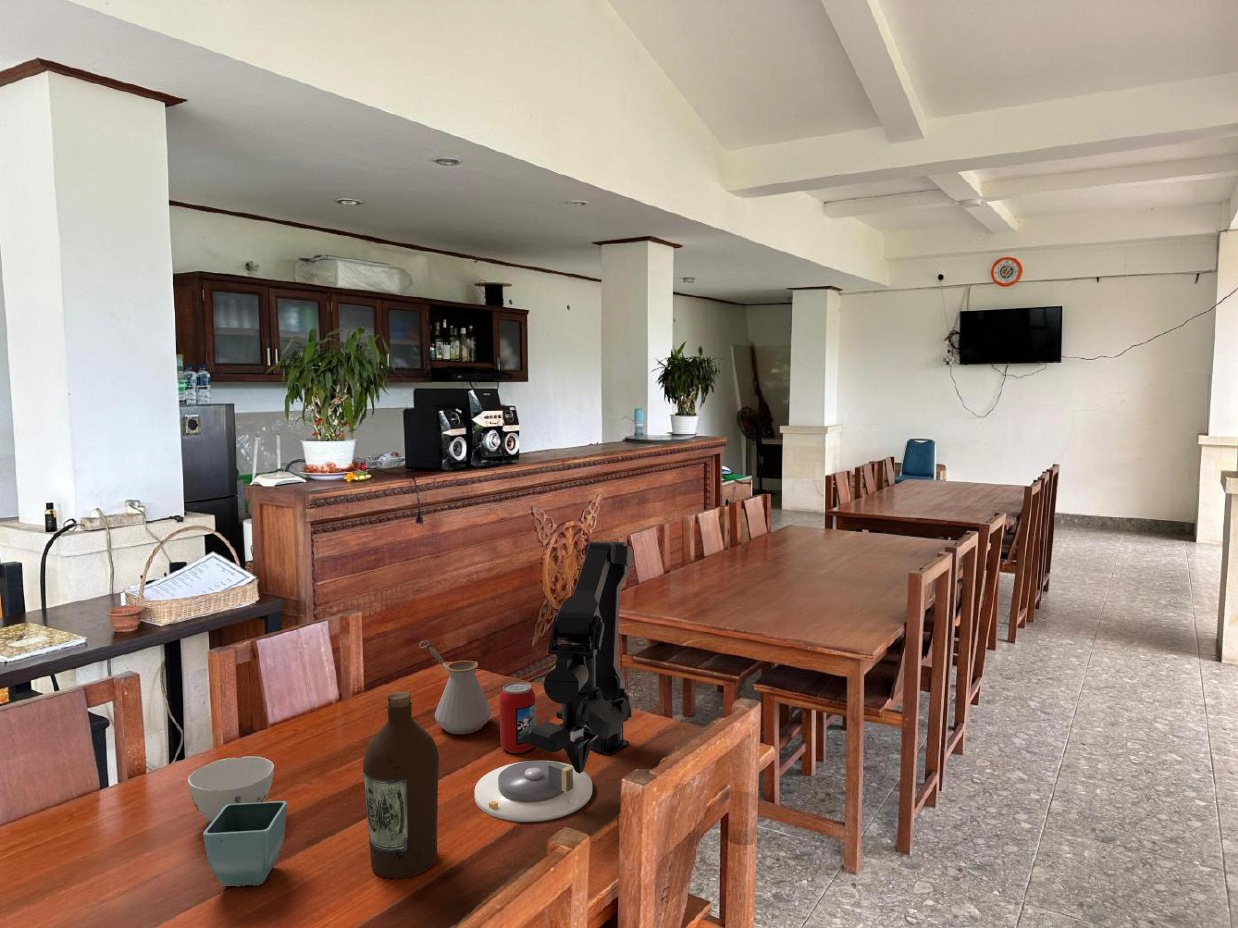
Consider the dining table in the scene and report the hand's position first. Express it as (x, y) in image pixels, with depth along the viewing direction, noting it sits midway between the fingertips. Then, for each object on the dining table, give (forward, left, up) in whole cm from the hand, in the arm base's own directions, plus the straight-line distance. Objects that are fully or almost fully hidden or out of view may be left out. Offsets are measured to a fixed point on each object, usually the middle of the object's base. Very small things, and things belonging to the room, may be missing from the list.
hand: (579, 772), depth 143 cm
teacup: (+40, -40, -4) cm, 57 cm away
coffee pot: (-8, -43, -4) cm, 44 cm away
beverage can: (-7, -22, -4) cm, 24 cm away
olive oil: (+31, -7, -4) cm, 32 cm away
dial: (+4, -6, -3) cm, 8 cm away
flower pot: (+47, -21, -4) cm, 52 cm away
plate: (+4, -7, -4) cm, 9 cm away
